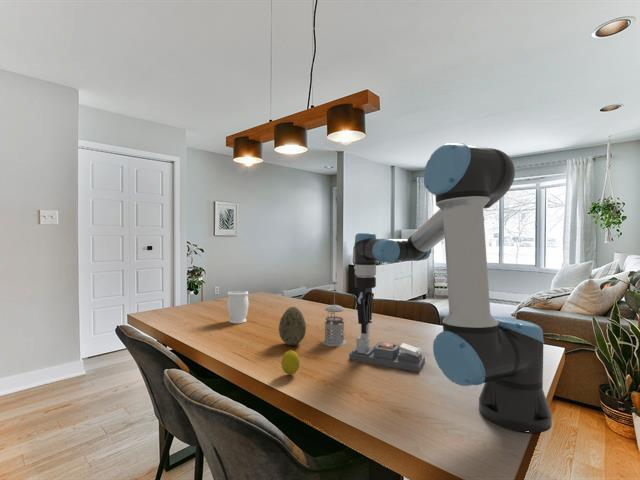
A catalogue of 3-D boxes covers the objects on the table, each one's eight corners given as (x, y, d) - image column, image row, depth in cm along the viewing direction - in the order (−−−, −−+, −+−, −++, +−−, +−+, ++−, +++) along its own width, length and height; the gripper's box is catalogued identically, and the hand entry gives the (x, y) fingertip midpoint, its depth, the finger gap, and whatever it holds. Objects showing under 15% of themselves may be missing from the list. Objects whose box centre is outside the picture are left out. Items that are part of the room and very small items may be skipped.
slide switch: (366, 354, 114) (366, 339, 114) (356, 352, 116) (356, 338, 116) (369, 351, 117) (369, 337, 117) (359, 349, 118) (359, 336, 118)
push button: (391, 356, 111) (391, 347, 111) (378, 354, 113) (378, 345, 113) (394, 352, 115) (394, 344, 115) (382, 350, 117) (382, 342, 117)
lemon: (290, 370, 106) (290, 345, 106) (303, 375, 102) (303, 349, 102) (277, 376, 101) (277, 350, 101) (290, 381, 98) (290, 354, 98)
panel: (419, 372, 104) (419, 356, 104) (349, 359, 115) (349, 345, 115) (424, 361, 113) (424, 347, 113) (359, 350, 124) (359, 337, 124)
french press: (326, 347, 128) (326, 283, 127) (318, 338, 139) (318, 279, 139) (349, 345, 130) (350, 282, 130) (340, 336, 142) (340, 278, 141)
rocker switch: (418, 357, 107) (419, 351, 107) (399, 349, 110) (400, 344, 110) (420, 352, 111) (421, 347, 111) (402, 346, 114) (403, 341, 114)
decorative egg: (311, 343, 132) (311, 306, 132) (294, 351, 123) (294, 311, 123) (290, 338, 138) (290, 303, 138) (273, 345, 129) (273, 307, 129)
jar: (225, 320, 168) (225, 291, 168) (246, 318, 173) (246, 289, 173) (229, 325, 159) (229, 294, 159) (250, 323, 163) (250, 292, 163)
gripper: (361, 273, 125) (361, 335, 125) (348, 277, 114) (348, 345, 114) (380, 274, 122) (380, 338, 122) (369, 278, 110) (369, 348, 110)
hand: (365, 341), depth 118 cm, fingers closed
